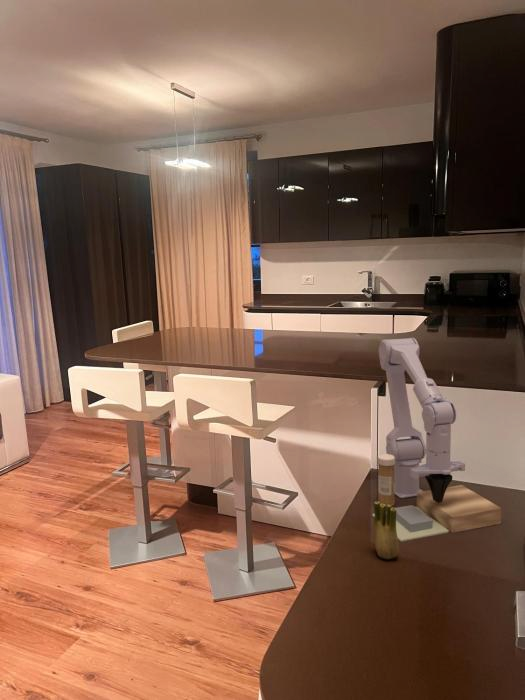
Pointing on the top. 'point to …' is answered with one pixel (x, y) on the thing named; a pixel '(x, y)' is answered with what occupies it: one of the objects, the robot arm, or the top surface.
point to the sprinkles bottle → (386, 479)
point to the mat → (407, 535)
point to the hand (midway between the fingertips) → (437, 500)
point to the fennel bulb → (385, 531)
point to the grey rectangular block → (413, 519)
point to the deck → (460, 509)
